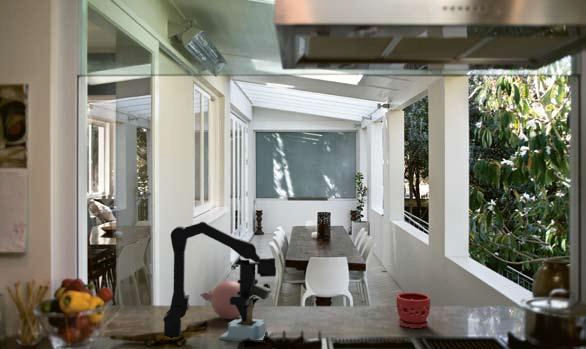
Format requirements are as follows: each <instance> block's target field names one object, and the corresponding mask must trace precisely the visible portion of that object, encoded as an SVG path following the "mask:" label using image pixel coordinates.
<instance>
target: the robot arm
mask: <svg viewBox="0 0 586 349" xmlns="http://www.w3.org/2000/svg"><path fill="white" fill-rule="evenodd" d="M200 234H201V235H205V236H206V237H208V238H211V239H213V240H214V241H216V242H219V243H221V244H222V245H225V246H227V247H228V248H230V249H232V250H233V251H234V252H235V253H237V254H238V255H239V256H241V257H238V259H237V260H235V262H234V265H235V266H239V279H238V280H237V282H238V283H240V288H239V291H238V292H237V295H234V296H232V297H231V298H230V305H236V307H237V309H238V311H239V313H240V316H239V317H240V319H241V318H242V320H243V321H244V322H246V320H247V313H248V307H249V306H250V305H251V304H252V303H249V301H250V300H253V309H254V308H255V305H256V303H257V302H258V301H260V300H263V301H265V300H266V299H268V298H269V295H270V293H272V288H271V284H270V283H267V282H265V283H264V284H261V283H259V281H258V279H257V278H256V274H257V275H258V276H259V277H260V278H263V277H265V278H268V277H269V278H272V277H273V278H274V277H276V276H277V268H276V258H275V257H269V258H268V257H267V258H266V257H265V258H262V257H260V255H258V254H257V248H256V246H255V245H254V243H252V242H251V241H249V240H248V241H247V240H244V239H241V238H238V237H234V236H232V235H231V234H230V235H229V234H228V233H227V232H224V231H222V230H220V229H218V228H216V227H214V226H212V225H210V224H209V223H207V222H206V221H200V222H198V223H196V224H195V223H194V224H192V225H189V226H185V227H184V226H181V225H180V226H176V227H175V228H173V230H172V231H171V233H170V241H171V246H172V250H173V293H172V298H171V301H170V306H169V309H168V310H167V311H166V313H165V314H164V316H163V318H162V320H163V337H164V336H167V337H170V338H173V337H178V336H180V335H182V318H184V317H185V315H186V314H187V311H189V308H190V302H189V299H190V294H186V291H185V266H186V265H185V262H186V261H185V257H186V255H185V254H186V253H185V252H186V247H187V243H188V239H189V238H193V237H195V236H197V235H200ZM241 258H243V259H241ZM250 260H251V261H250ZM252 261H253V262H252ZM175 341H176V340H175ZM176 342H177V341H176Z"/></svg>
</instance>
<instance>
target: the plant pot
mask: <svg viewBox="0 0 586 349" xmlns="http://www.w3.org/2000/svg"><path fill="white" fill-rule="evenodd" d="M395 302H396V310H397V314H398V317H399V318H398V319H397V322H398V324H399V325H400V326H402V327H404V326H405V327H404V328H407V327H410V328H409V329H414V328H419V329H423V328H422V327H424V328H426V327H427V326H428V324H429V322H428V320H427V319H428V317H429V314H430V311H431V297H430V296H429V295H428V294H423V293H419V292H418V293H417V292H401V293H399V294H396V300H395Z"/></svg>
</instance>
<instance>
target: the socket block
mask: <svg viewBox="0 0 586 349" xmlns="http://www.w3.org/2000/svg"><path fill="white" fill-rule="evenodd" d="M227 327H228V330H227V331H226V332H224V333H222V334H221V335H219V340H223V341H233V342H235V341H236V342H242V341H241V340H242V339H246V338H250V339H252V340H263V338H264V336H265V332H266V331H267V332H268V336H269V335H270V334H272V333H273V334H274V332H273V330H271V331H269V330H266V322H265V319H257V318H252V326H251V325H241V318H239V319H234V320H232V321H230V322H228V326H227Z"/></svg>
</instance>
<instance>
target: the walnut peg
mask: <svg viewBox="0 0 586 349" xmlns="http://www.w3.org/2000/svg"><path fill="white" fill-rule="evenodd" d="M249 303H252V304H251V305H250V306H249V307H248V313H247V320H246V322H244V321H243V320H242V318H241V317H240V319H241V325H251V326H252V319H253V314H254V313H253V312H254V308H253V300H250V301H249Z"/></svg>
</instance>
